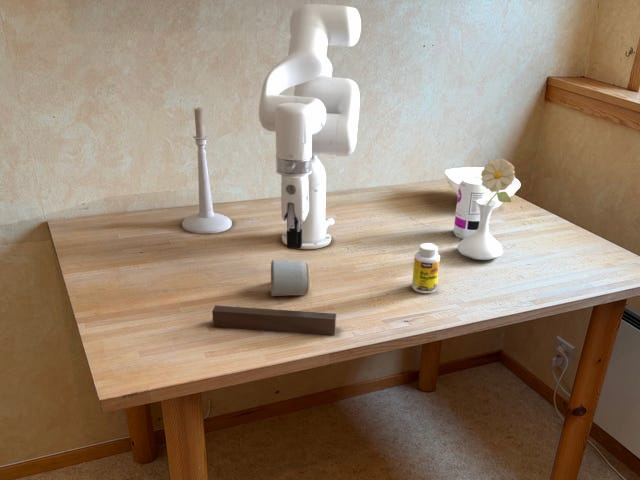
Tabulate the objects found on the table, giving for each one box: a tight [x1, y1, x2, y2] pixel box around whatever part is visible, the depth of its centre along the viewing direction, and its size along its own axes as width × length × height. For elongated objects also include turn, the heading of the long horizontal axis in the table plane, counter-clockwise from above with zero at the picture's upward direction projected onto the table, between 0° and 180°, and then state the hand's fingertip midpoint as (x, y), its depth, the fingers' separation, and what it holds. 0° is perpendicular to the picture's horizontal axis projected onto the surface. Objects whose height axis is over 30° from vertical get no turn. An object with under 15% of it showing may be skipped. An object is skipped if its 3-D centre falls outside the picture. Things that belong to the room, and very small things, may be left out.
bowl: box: [444, 166, 521, 209], centre depth 205 cm, size 21×21×9 cm
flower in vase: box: [457, 157, 516, 261], centre depth 166 cm, size 13×11×25 cm
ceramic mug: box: [270, 259, 311, 297], centre depth 149 cm, size 11×8×8 cm
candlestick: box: [181, 106, 233, 235], centre depth 175 cm, size 13×13×30 cm
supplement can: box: [453, 177, 491, 240], centre depth 181 cm, size 8×8×15 cm
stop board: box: [211, 304, 337, 336], centre depth 135 cm, size 2×24×4 cm, turn 87°
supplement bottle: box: [411, 242, 441, 294], centre depth 152 cm, size 6×6×10 cm
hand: (294, 246), depth 155 cm, fingers closed
